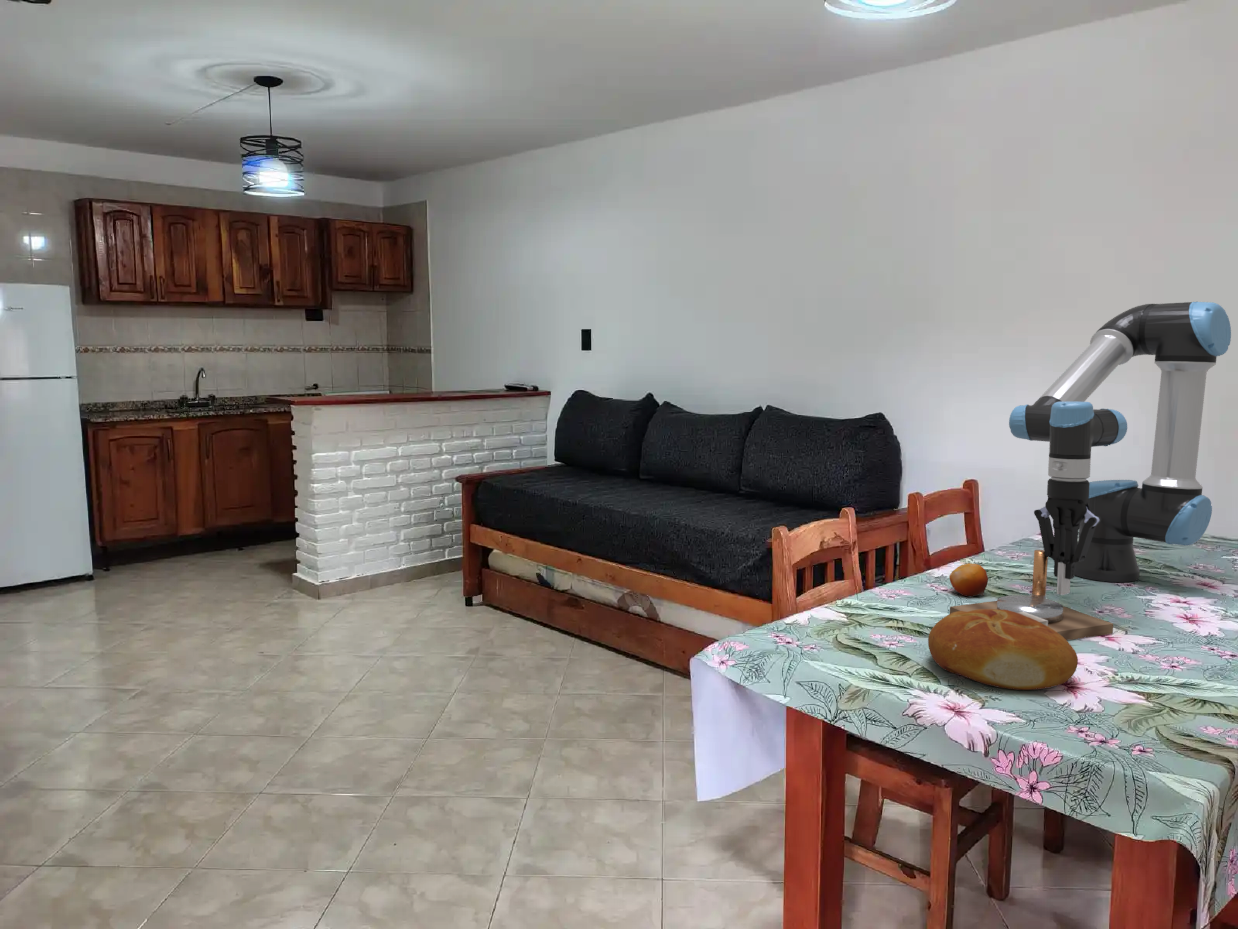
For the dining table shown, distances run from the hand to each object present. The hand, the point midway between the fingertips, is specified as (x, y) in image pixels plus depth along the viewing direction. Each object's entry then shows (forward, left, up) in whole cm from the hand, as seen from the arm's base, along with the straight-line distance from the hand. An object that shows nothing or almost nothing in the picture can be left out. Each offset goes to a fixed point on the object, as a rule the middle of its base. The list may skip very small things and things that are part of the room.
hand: (1063, 593), depth 179 cm
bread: (+33, +18, -6) cm, 38 cm away
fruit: (+5, -22, -6) cm, 23 cm away
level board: (+9, 0, -5) cm, 10 cm away
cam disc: (+7, -1, -3) cm, 8 cm away
